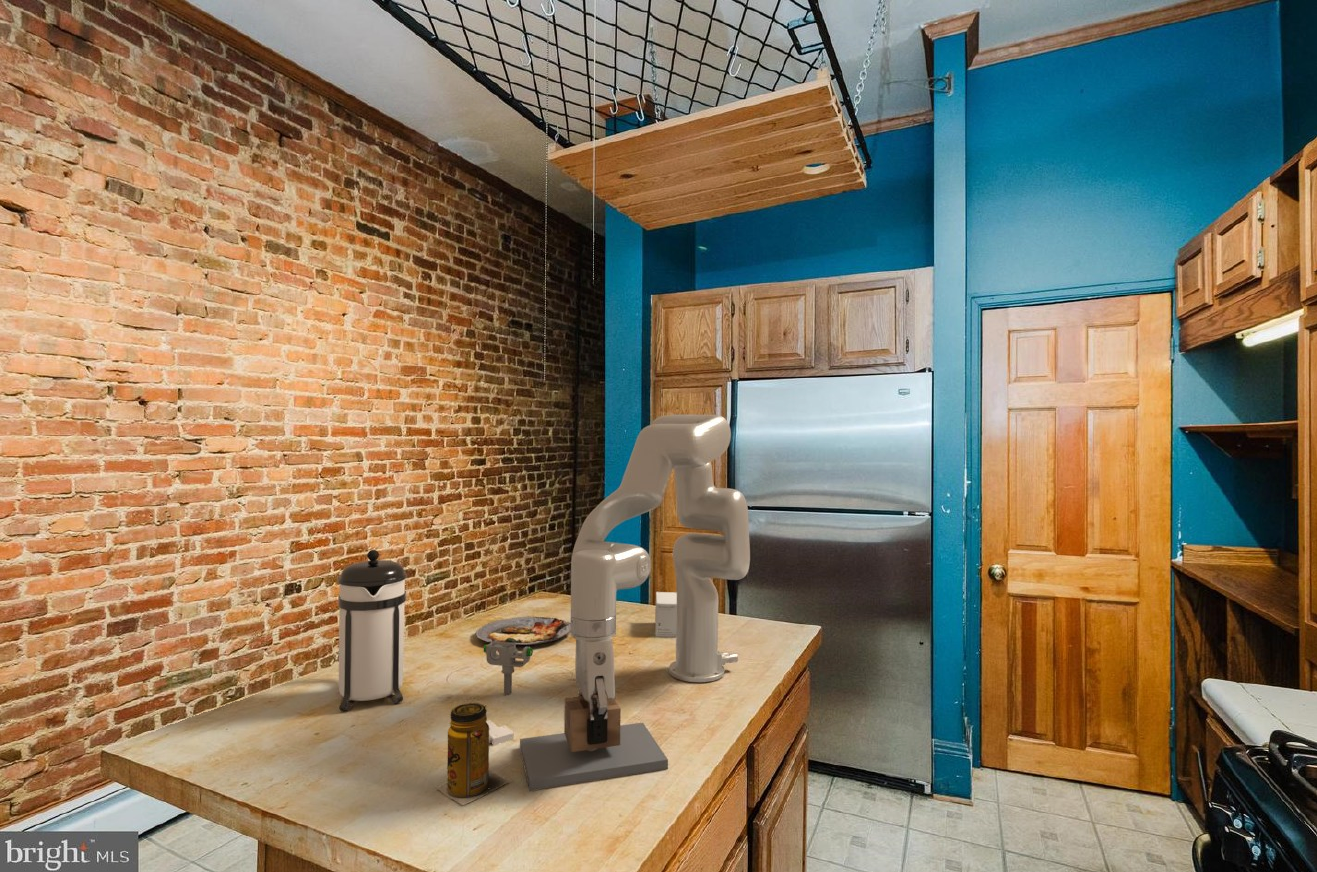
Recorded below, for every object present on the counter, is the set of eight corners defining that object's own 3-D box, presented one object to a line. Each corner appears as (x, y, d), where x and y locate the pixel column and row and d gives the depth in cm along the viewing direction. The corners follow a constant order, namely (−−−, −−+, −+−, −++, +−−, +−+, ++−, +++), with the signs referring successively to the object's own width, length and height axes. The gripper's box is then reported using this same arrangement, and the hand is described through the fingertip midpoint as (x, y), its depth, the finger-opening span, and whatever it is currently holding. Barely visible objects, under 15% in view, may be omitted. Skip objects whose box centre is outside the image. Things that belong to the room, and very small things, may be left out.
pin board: (642, 730, 117) (643, 685, 117) (667, 768, 103) (668, 717, 103) (519, 747, 110) (520, 699, 110) (529, 790, 97) (530, 735, 97)
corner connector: (453, 737, 114) (453, 727, 114) (496, 725, 119) (496, 716, 119) (469, 755, 108) (469, 745, 108) (513, 742, 113) (513, 732, 113)
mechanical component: (527, 698, 130) (528, 649, 130) (481, 694, 132) (482, 645, 132) (533, 693, 133) (534, 645, 133) (488, 688, 135) (488, 641, 135)
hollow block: (610, 726, 111) (610, 692, 111) (620, 745, 105) (620, 708, 105) (564, 733, 109) (564, 697, 109) (571, 752, 102) (572, 714, 102)
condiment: (435, 788, 97) (436, 709, 97) (483, 766, 103) (484, 692, 103) (462, 807, 92) (463, 723, 92) (511, 783, 99) (511, 705, 99)
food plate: (585, 626, 180) (584, 614, 180) (552, 654, 157) (552, 640, 157) (503, 622, 185) (502, 610, 185) (460, 648, 163) (460, 635, 163)
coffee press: (430, 689, 134) (432, 546, 135) (367, 719, 120) (369, 559, 120) (371, 675, 142) (372, 540, 142) (304, 702, 127) (306, 551, 127)
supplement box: (655, 637, 171) (655, 602, 171) (655, 623, 184) (655, 591, 184) (718, 638, 171) (718, 603, 171) (713, 624, 185) (714, 591, 185)
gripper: (629, 639, 100) (627, 753, 100) (603, 609, 116) (602, 708, 116) (581, 643, 97) (580, 761, 97) (562, 613, 114) (560, 713, 114)
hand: (592, 731), depth 107 cm, fingers closed on hollow block, 6 cm apart
